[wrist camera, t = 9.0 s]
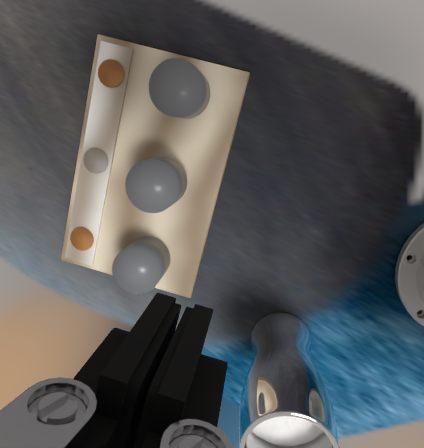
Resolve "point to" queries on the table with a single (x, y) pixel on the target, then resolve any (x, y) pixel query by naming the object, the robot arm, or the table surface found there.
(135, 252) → the button
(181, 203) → the button board
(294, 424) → the beer glass
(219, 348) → the table surface
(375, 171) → the table surface
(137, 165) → the button middle
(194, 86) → the button
